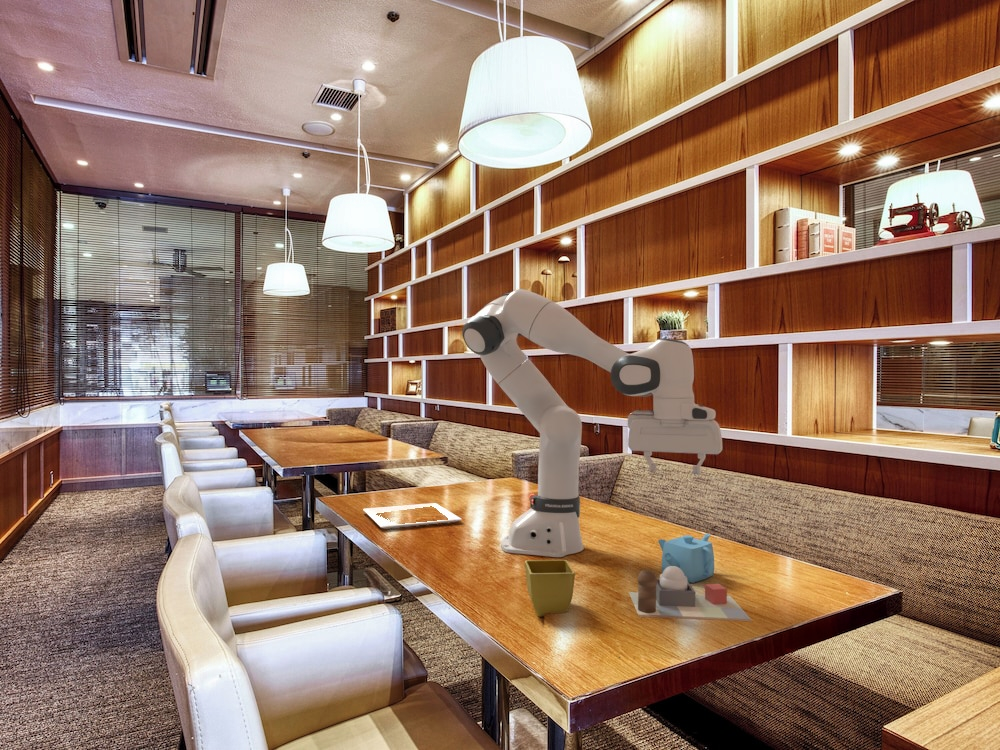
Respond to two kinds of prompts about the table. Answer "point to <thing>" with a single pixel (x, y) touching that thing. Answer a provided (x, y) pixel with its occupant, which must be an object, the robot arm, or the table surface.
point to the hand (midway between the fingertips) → (674, 472)
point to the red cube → (715, 594)
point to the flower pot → (550, 585)
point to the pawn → (647, 591)
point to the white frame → (388, 525)
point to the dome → (673, 579)
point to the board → (690, 606)
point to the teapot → (689, 556)
